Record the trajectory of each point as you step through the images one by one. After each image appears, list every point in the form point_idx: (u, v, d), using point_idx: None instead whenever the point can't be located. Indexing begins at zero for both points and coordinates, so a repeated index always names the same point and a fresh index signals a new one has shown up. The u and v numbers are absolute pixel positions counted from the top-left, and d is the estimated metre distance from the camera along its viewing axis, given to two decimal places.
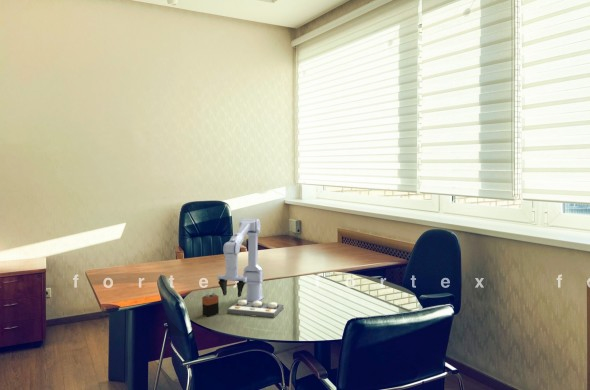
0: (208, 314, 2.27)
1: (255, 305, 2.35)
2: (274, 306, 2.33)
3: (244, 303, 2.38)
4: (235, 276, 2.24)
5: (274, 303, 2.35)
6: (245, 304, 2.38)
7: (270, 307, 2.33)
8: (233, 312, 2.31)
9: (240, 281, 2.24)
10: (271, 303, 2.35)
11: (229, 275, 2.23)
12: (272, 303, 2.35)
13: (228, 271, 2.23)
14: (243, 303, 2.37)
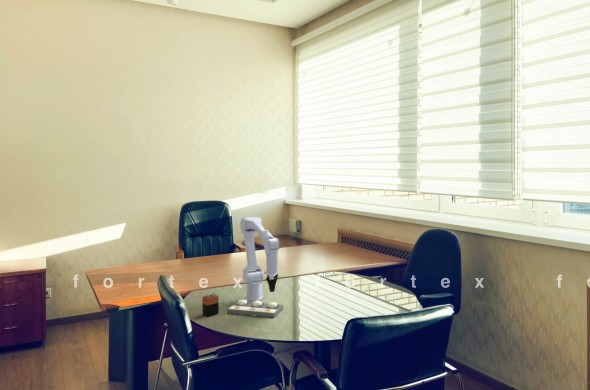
0: (208, 314, 2.27)
1: (255, 305, 2.35)
2: (274, 306, 2.33)
3: (244, 303, 2.38)
4: (269, 271, 2.31)
5: (274, 303, 2.35)
6: (245, 304, 2.38)
7: (270, 307, 2.33)
8: (233, 312, 2.31)
9: None
10: (271, 303, 2.35)
11: (266, 269, 2.33)
12: (272, 303, 2.35)
13: None
14: (243, 303, 2.37)
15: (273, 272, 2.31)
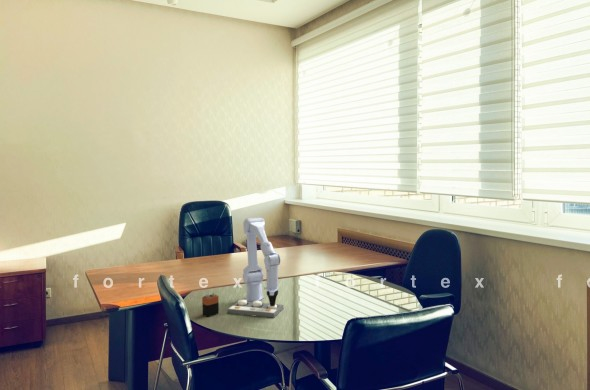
0: (208, 314, 2.27)
1: (255, 305, 2.35)
2: (274, 308, 2.33)
3: (244, 303, 2.38)
4: (269, 287, 2.32)
5: None
6: (245, 304, 2.38)
7: None
8: (233, 312, 2.31)
9: None
10: None
11: None
12: None
13: None
14: (243, 303, 2.37)
15: (273, 288, 2.31)
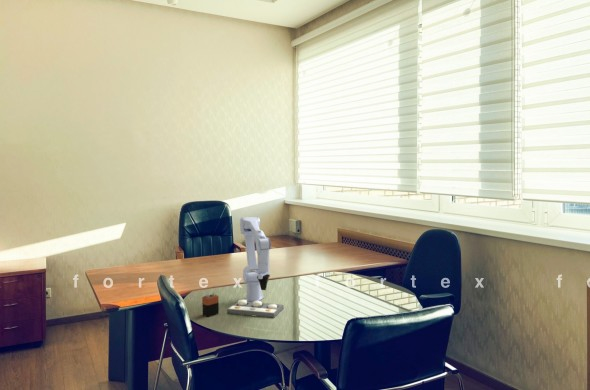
0: (208, 314, 2.27)
1: (255, 305, 2.35)
2: (274, 308, 2.33)
3: (244, 303, 2.38)
4: (259, 271, 2.33)
5: (274, 305, 2.35)
6: (245, 304, 2.38)
7: None
8: (233, 312, 2.31)
9: None
10: (271, 305, 2.35)
11: None
12: (272, 305, 2.35)
13: None
14: (243, 303, 2.37)
15: (263, 272, 2.32)
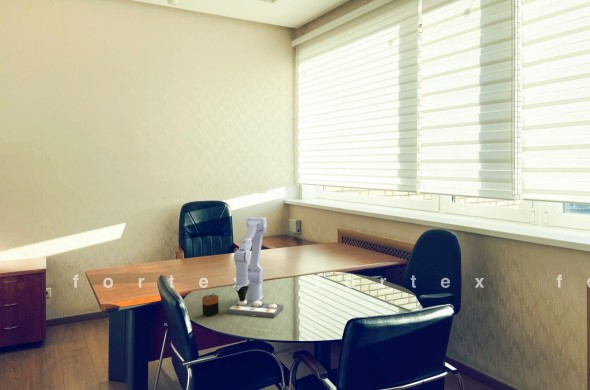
0: (208, 314, 2.27)
1: (255, 305, 2.35)
2: (274, 308, 2.33)
3: (244, 303, 2.38)
4: (237, 282, 2.37)
5: (274, 305, 2.35)
6: (245, 304, 2.38)
7: None
8: (233, 312, 2.31)
9: None
10: (271, 305, 2.35)
11: None
12: (272, 305, 2.35)
13: None
14: (243, 303, 2.37)
15: (241, 283, 2.36)
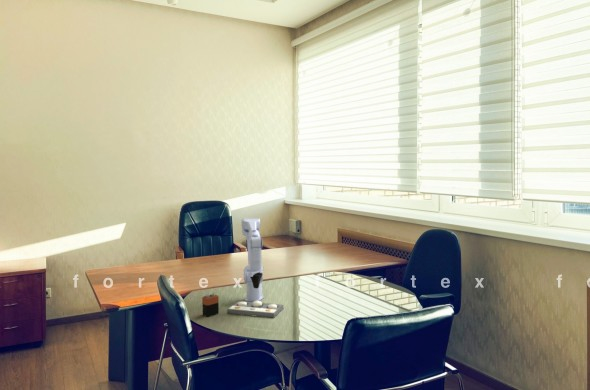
0: (208, 314, 2.27)
1: (255, 305, 2.35)
2: (274, 308, 2.33)
3: (244, 305, 2.38)
4: (251, 269, 2.36)
5: (274, 305, 2.35)
6: None
7: None
8: (233, 312, 2.31)
9: None
10: (271, 305, 2.35)
11: None
12: (272, 305, 2.35)
13: None
14: (243, 305, 2.37)
15: (255, 270, 2.35)
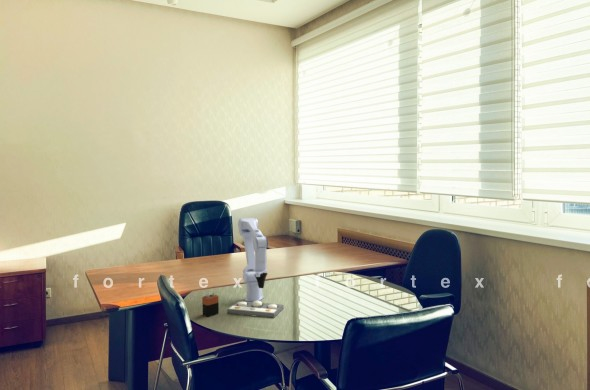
0: (208, 314, 2.27)
1: (255, 305, 2.35)
2: (274, 308, 2.33)
3: (244, 305, 2.38)
4: (257, 269, 2.36)
5: (274, 305, 2.35)
6: None
7: None
8: (233, 312, 2.31)
9: None
10: (271, 305, 2.35)
11: None
12: (272, 305, 2.35)
13: None
14: (243, 305, 2.37)
15: (261, 270, 2.35)
